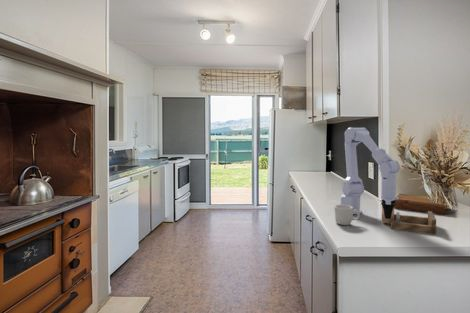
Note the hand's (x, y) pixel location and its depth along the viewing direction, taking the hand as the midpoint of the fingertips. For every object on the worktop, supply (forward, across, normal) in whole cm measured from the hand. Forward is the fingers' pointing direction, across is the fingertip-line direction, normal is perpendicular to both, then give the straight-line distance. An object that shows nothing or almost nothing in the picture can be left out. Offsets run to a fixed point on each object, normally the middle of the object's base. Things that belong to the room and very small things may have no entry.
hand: (387, 216), depth 136 cm
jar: (+2, 0, 0) cm, 2 cm away
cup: (+3, -9, +16) cm, 19 cm away
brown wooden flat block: (+4, +40, -16) cm, 43 cm away
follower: (+3, 0, -4) cm, 5 cm away
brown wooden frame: (+3, 0, -10) cm, 10 cm away
